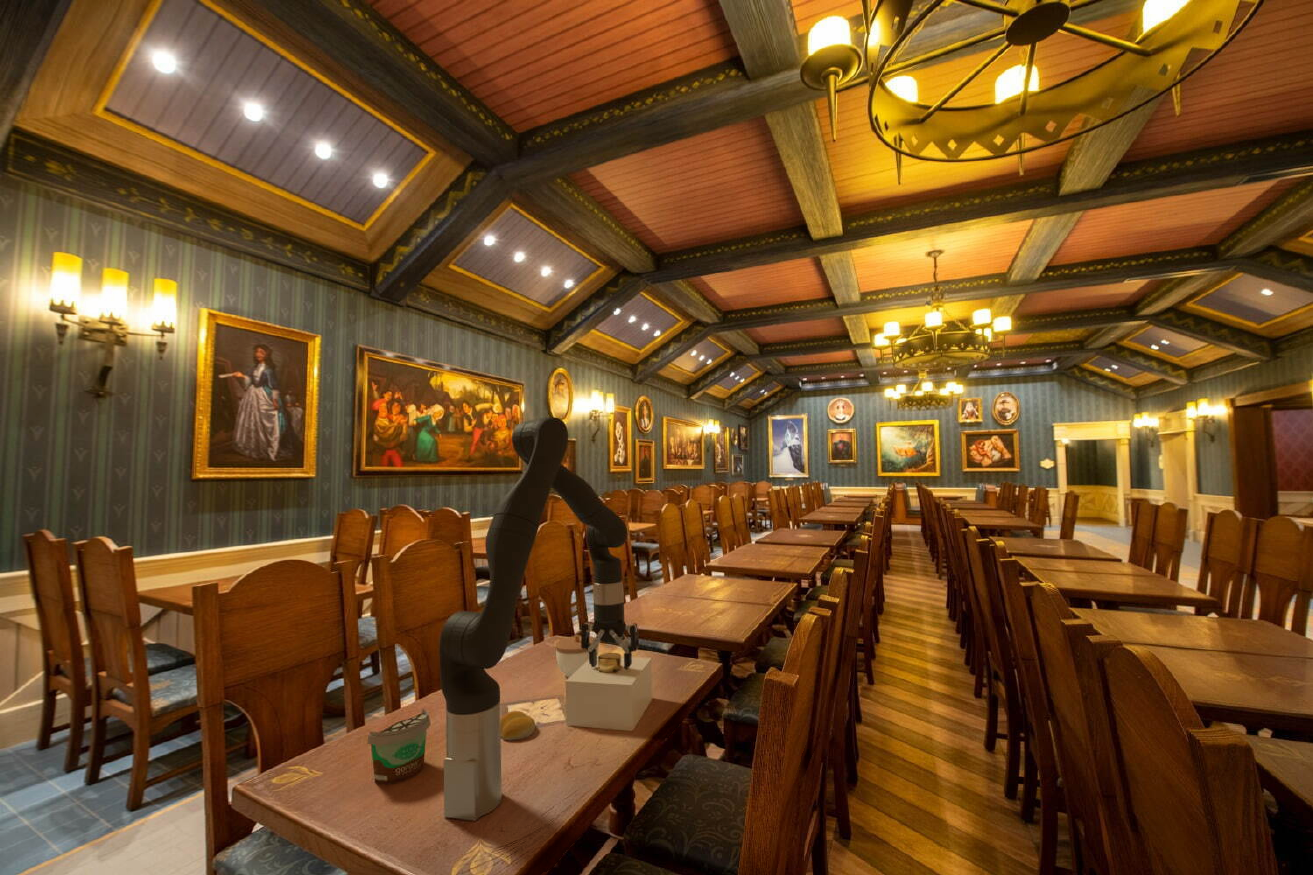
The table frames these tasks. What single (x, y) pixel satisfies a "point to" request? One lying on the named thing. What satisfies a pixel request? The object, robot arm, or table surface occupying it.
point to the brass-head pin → (609, 662)
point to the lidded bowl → (571, 654)
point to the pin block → (609, 695)
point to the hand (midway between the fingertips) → (610, 666)
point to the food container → (399, 749)
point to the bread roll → (516, 725)
